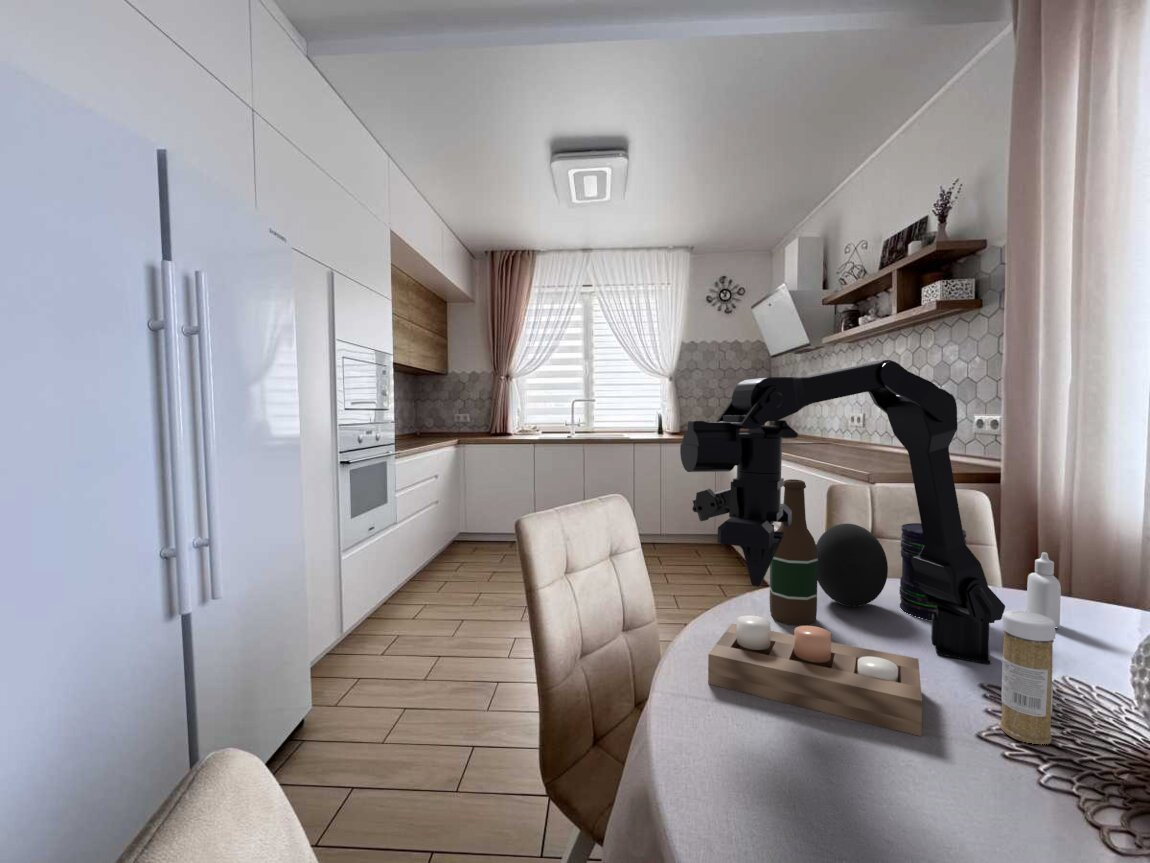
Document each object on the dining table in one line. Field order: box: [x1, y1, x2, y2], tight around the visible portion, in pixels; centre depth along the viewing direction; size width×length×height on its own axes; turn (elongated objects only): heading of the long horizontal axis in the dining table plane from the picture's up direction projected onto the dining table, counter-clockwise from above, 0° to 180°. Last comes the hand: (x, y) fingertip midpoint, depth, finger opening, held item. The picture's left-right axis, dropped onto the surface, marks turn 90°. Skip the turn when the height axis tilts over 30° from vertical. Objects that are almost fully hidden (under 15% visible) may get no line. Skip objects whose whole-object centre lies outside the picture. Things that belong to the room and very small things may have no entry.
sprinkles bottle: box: [999, 610, 1056, 746], centre depth 62 cm, size 5×5×14 cm
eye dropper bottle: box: [1026, 551, 1062, 628], centre depth 94 cm, size 4×6×12 cm
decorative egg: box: [815, 523, 889, 607], centre depth 103 cm, size 12×12×15 cm
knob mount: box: [707, 623, 923, 737], centre depth 73 cm, size 24×12×4 cm, turn 60°
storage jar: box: [899, 522, 967, 621], centre depth 99 cm, size 10×10×15 cm
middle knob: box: [793, 625, 832, 662], centre depth 73 cm, size 4×4×3 cm
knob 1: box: [736, 615, 772, 650], centre depth 77 cm, size 4×4×3 cm
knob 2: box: [857, 656, 898, 682], centre depth 69 cm, size 4×4×3 cm
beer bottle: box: [769, 478, 818, 626], centre depth 96 cm, size 8×8×24 cm
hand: (756, 585), depth 76 cm, fingers closed
